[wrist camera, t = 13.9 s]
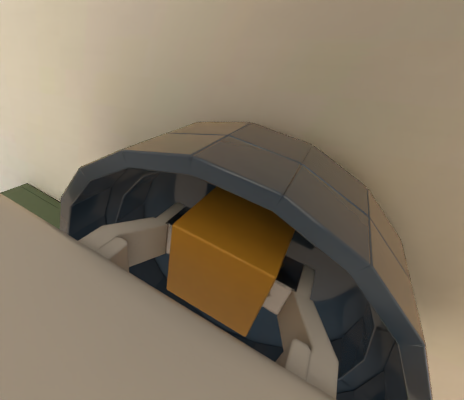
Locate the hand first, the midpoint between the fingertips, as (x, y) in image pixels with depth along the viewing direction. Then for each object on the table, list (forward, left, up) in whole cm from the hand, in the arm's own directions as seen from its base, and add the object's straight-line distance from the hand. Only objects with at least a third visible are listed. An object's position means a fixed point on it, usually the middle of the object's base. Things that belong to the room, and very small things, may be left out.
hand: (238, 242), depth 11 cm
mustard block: (0, 0, -1) cm, 1 cm away
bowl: (+3, 0, -2) cm, 4 cm away
